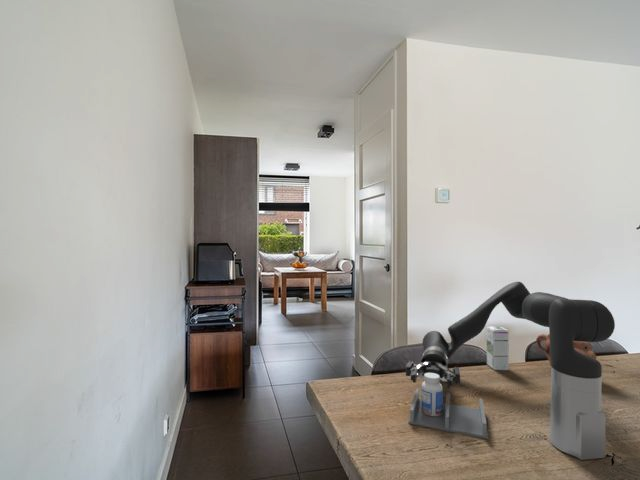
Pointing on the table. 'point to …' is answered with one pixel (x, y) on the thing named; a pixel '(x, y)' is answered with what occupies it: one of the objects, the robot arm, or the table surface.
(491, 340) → the syrup box
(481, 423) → the dish rack
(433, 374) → the pill bottle
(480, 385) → the table surface
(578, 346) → the decorative planter
